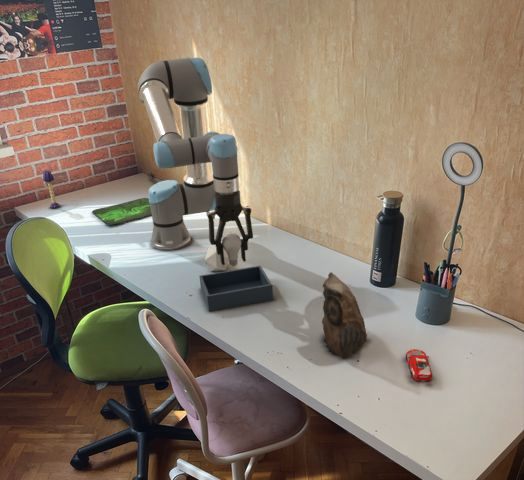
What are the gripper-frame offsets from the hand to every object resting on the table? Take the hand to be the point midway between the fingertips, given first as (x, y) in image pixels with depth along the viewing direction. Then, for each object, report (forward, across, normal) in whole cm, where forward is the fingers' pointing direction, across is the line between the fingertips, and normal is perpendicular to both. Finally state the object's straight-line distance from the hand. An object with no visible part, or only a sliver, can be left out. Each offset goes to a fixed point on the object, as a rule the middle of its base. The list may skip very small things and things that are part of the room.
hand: (233, 261), depth 180 cm
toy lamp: (+14, -61, +108) cm, 125 cm away
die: (+13, -2, +20) cm, 24 cm away
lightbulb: (+2, 0, 0) cm, 2 cm away
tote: (+12, 0, 0) cm, 12 cm away
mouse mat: (+13, -29, +88) cm, 94 cm away
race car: (+12, +37, -56) cm, 68 cm away
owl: (+12, +23, -39) cm, 47 cm away
